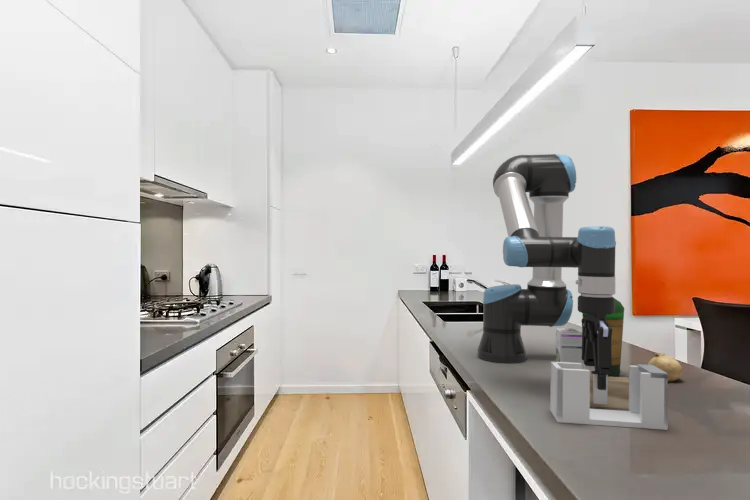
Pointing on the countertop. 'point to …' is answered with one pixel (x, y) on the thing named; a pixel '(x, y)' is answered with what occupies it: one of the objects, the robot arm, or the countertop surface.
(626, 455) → the countertop surface
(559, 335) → the syrup box
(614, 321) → the bottle
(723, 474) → the countertop surface
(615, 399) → the tan wooden block
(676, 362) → the tan round lump
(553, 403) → the white open holder
